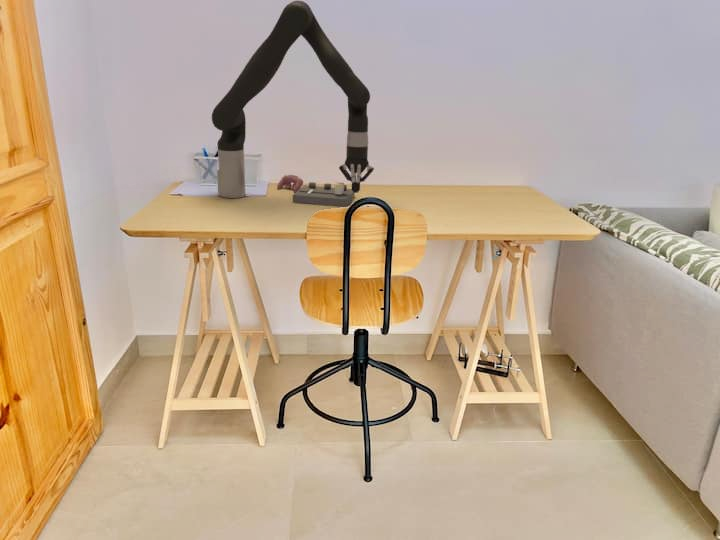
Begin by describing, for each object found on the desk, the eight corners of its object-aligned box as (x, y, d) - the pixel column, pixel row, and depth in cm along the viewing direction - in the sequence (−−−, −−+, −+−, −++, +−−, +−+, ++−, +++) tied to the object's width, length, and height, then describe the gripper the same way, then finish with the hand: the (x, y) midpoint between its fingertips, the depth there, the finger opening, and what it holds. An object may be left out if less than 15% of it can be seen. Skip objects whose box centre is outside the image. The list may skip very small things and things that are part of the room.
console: (292, 202, 201) (292, 190, 199) (304, 192, 215) (304, 180, 213) (346, 206, 198) (347, 194, 196) (354, 196, 212) (354, 184, 211)
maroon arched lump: (301, 195, 217) (306, 178, 217) (294, 192, 213) (299, 174, 213) (281, 191, 222) (286, 174, 222) (275, 188, 218) (280, 171, 218)
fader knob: (334, 194, 201) (335, 183, 199) (337, 191, 205) (337, 181, 203) (341, 194, 200) (341, 184, 199) (343, 191, 204) (344, 181, 203)
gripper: (336, 144, 192) (335, 193, 199) (374, 147, 190) (372, 196, 197) (341, 141, 199) (340, 188, 206) (377, 143, 197) (375, 191, 204)
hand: (355, 192), depth 201 cm, fingers closed
